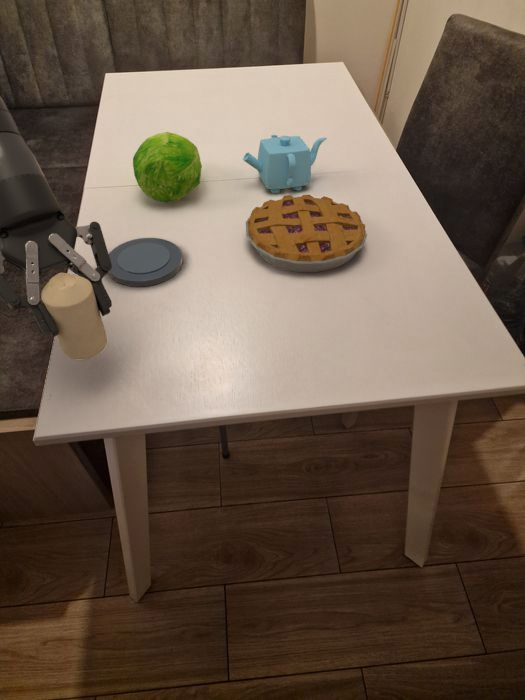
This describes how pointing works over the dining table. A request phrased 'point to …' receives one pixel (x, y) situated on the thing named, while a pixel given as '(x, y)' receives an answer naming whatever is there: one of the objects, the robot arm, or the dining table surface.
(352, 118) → the dining table surface
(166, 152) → the lettuce
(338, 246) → the pie
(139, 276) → the saucer
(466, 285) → the dining table surface
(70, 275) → the candle
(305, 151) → the teapot
